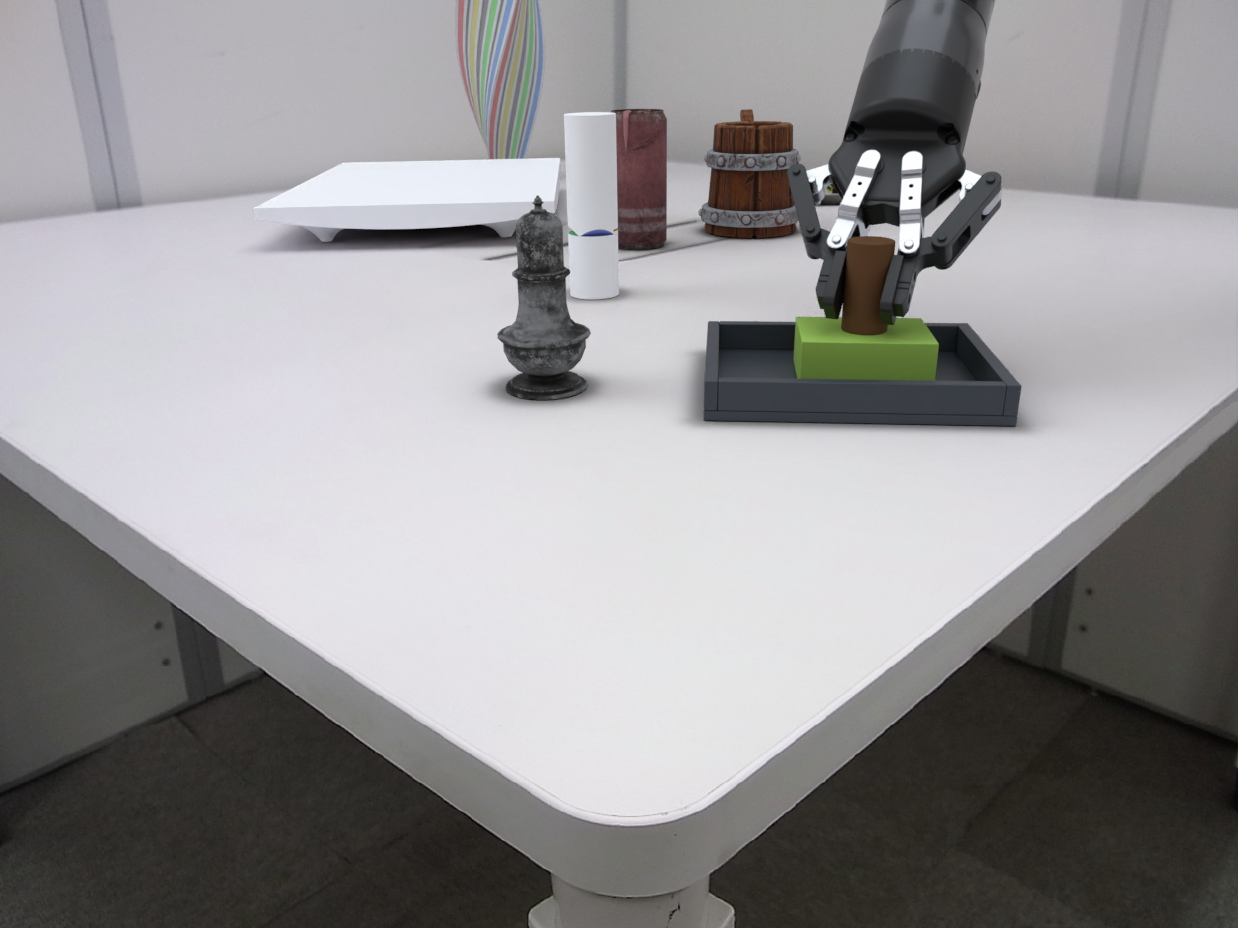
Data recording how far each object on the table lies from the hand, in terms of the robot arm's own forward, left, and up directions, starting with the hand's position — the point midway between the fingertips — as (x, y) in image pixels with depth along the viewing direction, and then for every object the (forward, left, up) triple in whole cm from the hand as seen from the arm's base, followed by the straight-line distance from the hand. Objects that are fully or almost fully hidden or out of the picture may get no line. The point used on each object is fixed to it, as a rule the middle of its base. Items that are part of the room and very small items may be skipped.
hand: (858, 314), depth 60 cm
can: (+17, -50, -5) cm, 53 cm away
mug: (+5, -61, -5) cm, 61 cm away
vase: (+43, -108, -5) cm, 116 cm away
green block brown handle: (-1, -2, -4) cm, 5 cm away
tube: (+19, -27, -5) cm, 33 cm away
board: (+45, -70, -5) cm, 83 cm away
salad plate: (-5, -87, -5) cm, 87 cm away
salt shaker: (+19, -1, -5) cm, 20 cm away
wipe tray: (0, -2, -5) cm, 5 cm away
